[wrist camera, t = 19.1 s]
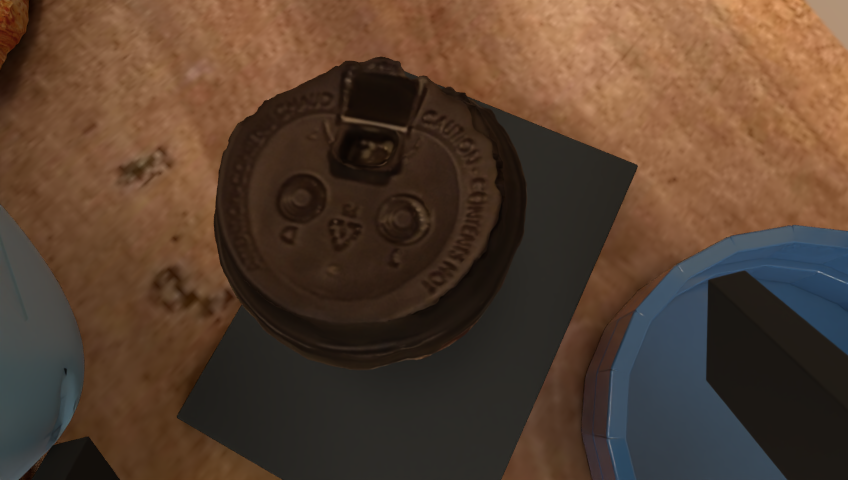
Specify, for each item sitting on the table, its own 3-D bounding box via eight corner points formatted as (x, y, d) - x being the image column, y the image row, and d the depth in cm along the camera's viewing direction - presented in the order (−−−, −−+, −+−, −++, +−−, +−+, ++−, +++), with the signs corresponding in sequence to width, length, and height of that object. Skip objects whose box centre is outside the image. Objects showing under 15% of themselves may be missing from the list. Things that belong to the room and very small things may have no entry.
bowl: (525, 513, 24) (539, 541, 19) (653, 208, 27) (693, 166, 22) (901, 718, 21) (1030, 813, 16) (993, 349, 24) (1124, 336, 19)
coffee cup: (431, 169, 28) (400, -23, 15) (543, 300, 25) (614, 200, 13) (286, 277, 27) (126, 166, 14) (389, 423, 24) (308, 443, 12)
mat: (181, 417, 26) (175, 417, 25) (384, 68, 30) (382, 61, 30) (456, 577, 23) (456, 582, 23) (635, 169, 28) (638, 164, 27)
